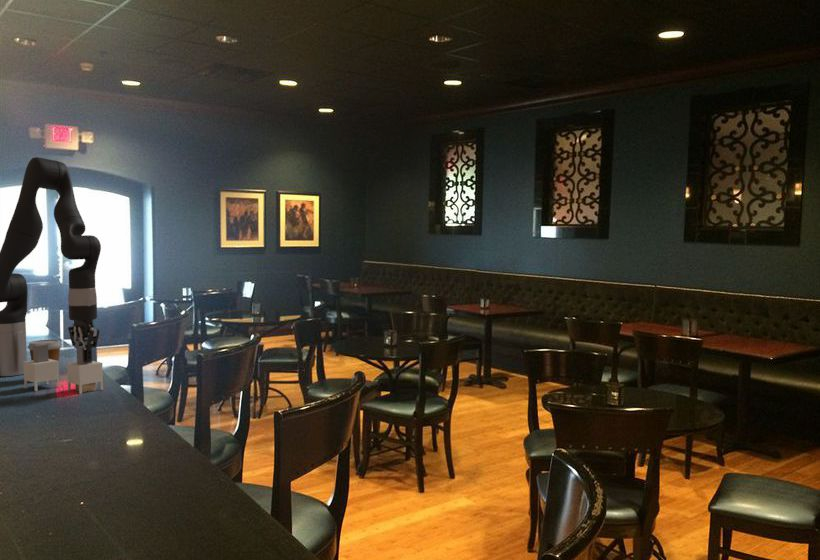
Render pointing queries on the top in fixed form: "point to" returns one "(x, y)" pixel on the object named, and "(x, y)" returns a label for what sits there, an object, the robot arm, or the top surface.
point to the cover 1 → (41, 367)
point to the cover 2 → (84, 372)
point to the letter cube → (86, 387)
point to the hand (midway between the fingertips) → (84, 361)
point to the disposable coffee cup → (52, 348)
